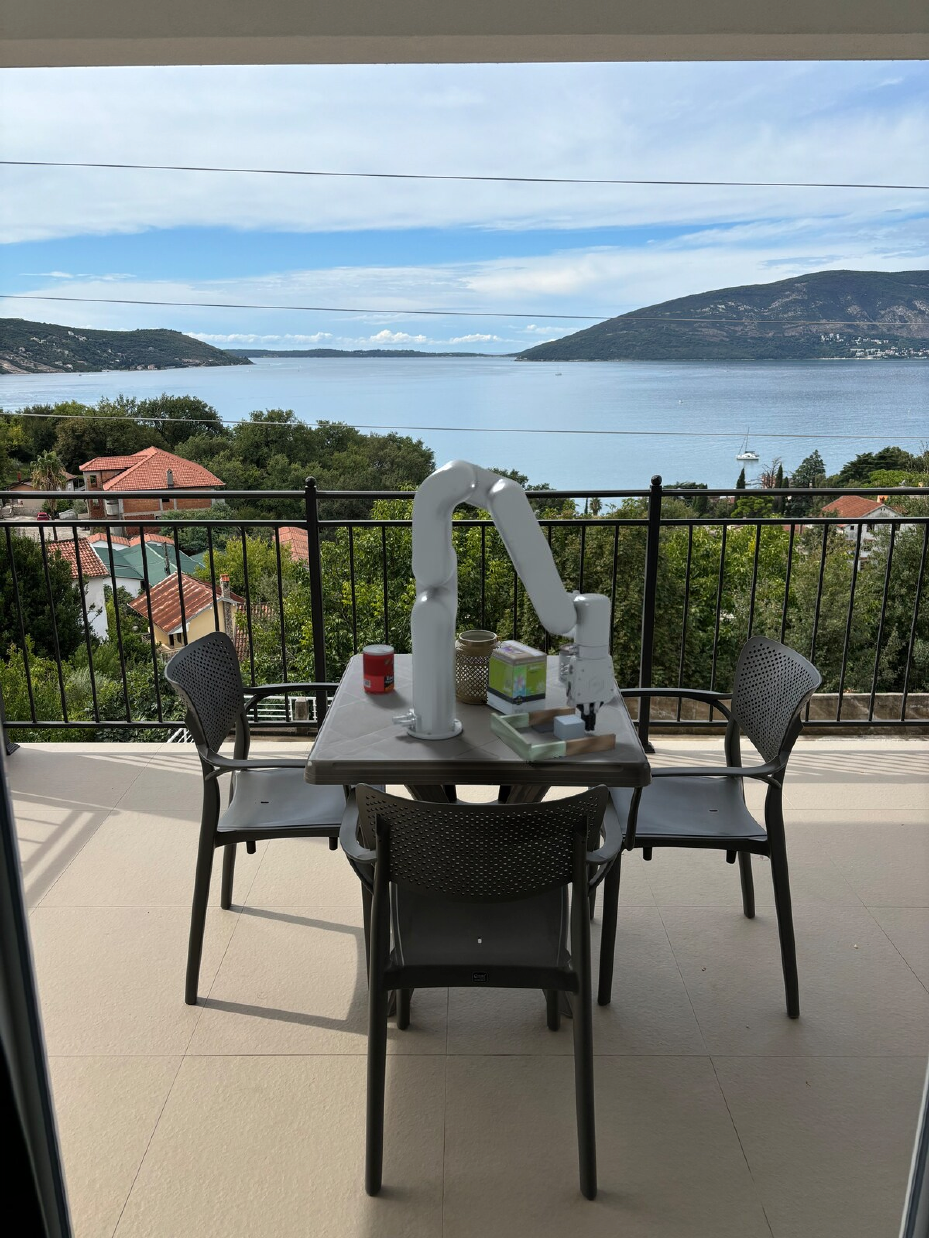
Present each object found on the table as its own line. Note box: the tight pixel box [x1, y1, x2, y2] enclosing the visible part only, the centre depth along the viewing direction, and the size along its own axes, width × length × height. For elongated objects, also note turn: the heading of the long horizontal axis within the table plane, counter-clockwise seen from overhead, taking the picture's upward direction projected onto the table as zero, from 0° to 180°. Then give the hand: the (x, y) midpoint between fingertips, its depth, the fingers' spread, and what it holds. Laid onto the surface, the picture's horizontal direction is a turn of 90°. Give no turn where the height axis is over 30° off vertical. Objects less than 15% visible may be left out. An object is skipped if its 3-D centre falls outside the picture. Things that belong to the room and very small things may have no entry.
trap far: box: [530, 722, 554, 734], centre depth 198 cm, size 6×4×1 cm
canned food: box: [362, 644, 395, 695], centre depth 222 cm, size 8×8×11 cm
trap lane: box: [490, 706, 617, 763], centre depth 192 cm, size 21×19×4 cm
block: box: [553, 713, 586, 741], centre depth 193 cm, size 5×5×4 cm
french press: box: [553, 589, 581, 689], centre depth 226 cm, size 10×12×25 cm
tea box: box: [486, 639, 548, 715], centre depth 210 cm, size 15×10×15 cm, turn 30°
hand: (587, 728), depth 195 cm, fingers closed
